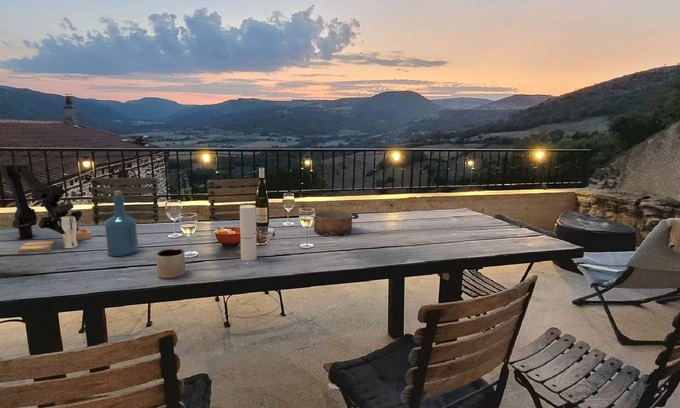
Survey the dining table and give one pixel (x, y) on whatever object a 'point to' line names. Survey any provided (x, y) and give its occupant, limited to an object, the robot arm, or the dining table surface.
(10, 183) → the robot arm
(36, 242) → the oak board
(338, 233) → the cooking pot
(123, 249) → the wine bottle
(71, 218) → the metal goblet
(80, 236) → the terracotta dish
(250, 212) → the cylindrical container
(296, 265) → the dining table surface
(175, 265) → the planter
